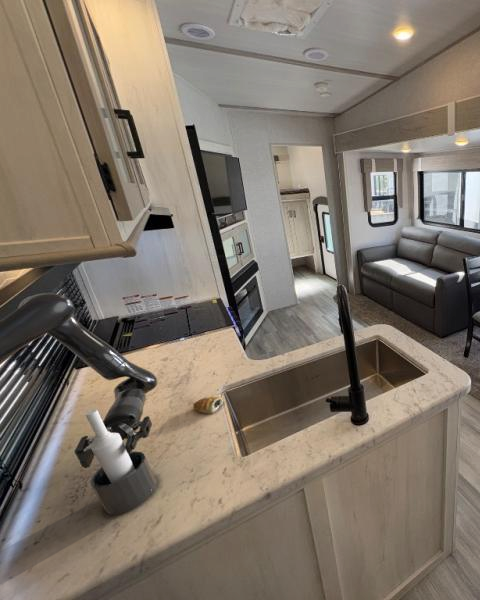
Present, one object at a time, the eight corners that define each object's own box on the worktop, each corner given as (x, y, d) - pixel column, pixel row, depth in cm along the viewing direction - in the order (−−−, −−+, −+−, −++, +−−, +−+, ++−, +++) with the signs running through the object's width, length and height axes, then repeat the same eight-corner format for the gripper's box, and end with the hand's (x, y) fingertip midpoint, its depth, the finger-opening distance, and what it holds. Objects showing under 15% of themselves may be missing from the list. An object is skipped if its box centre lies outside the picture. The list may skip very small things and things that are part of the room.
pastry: (189, 413, 107) (186, 404, 106) (203, 400, 113) (200, 392, 112) (213, 414, 105) (210, 405, 104) (226, 401, 112) (223, 393, 110)
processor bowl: (99, 523, 72) (83, 495, 69) (111, 489, 80) (98, 463, 77) (153, 500, 76) (140, 473, 73) (159, 470, 85) (148, 445, 82)
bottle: (117, 491, 78) (76, 412, 70) (143, 478, 81) (106, 401, 73) (117, 505, 75) (74, 423, 66) (144, 491, 78) (106, 411, 69)
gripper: (84, 415, 80) (57, 459, 67) (151, 395, 87) (139, 431, 73) (95, 437, 83) (72, 484, 69) (160, 416, 89) (150, 455, 76)
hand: (107, 457), depth 71 cm, fingers open, 7 cm apart
